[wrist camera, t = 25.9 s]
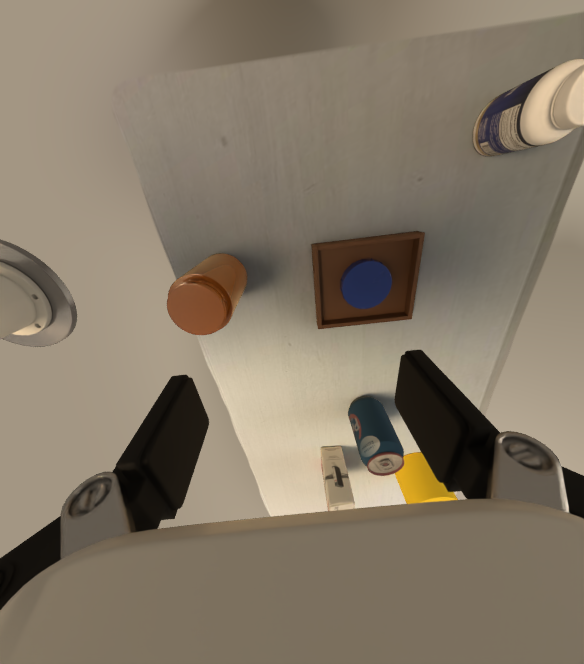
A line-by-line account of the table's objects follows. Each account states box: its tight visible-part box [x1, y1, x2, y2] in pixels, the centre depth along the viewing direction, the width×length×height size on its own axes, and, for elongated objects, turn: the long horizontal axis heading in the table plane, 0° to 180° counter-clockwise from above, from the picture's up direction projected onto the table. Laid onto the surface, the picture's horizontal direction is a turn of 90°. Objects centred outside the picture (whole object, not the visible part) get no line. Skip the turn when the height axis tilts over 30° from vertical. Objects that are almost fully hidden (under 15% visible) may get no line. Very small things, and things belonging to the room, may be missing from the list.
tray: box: [311, 231, 425, 329], centre depth 33 cm, size 14×12×2 cm
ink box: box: [321, 446, 355, 511], centre depth 50 cm, size 8×5×12 cm, turn 6°
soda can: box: [348, 396, 404, 476], centre depth 42 cm, size 7×7×12 cm
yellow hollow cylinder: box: [395, 453, 458, 504], centre depth 53 cm, size 10×10×9 cm
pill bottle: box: [473, 59, 584, 156], centre depth 22 cm, size 5×5×10 cm
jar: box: [167, 253, 247, 335], centre depth 28 cm, size 7×7×12 cm
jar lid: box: [340, 258, 392, 309], centre depth 33 cm, size 7×7×2 cm
